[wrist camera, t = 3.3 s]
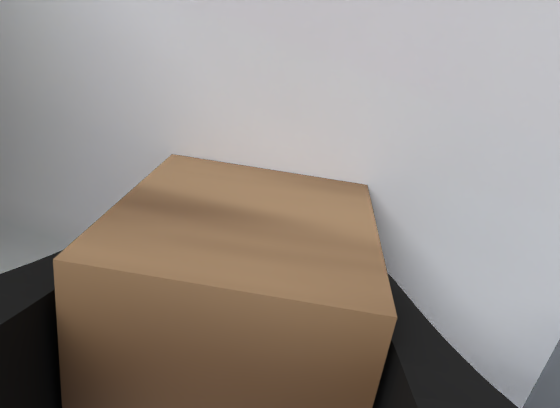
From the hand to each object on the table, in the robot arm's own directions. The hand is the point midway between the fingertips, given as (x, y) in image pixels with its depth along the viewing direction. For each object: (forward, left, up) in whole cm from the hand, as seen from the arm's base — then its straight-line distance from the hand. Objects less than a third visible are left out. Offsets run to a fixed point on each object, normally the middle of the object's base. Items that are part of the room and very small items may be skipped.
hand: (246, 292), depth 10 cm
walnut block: (0, 0, -2) cm, 2 cm away
